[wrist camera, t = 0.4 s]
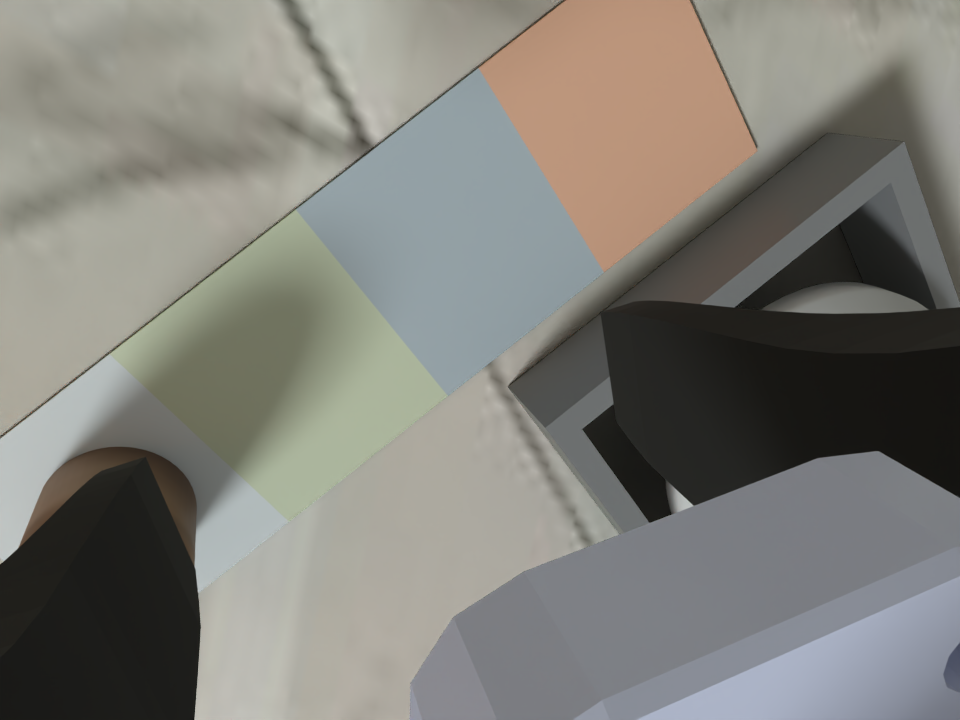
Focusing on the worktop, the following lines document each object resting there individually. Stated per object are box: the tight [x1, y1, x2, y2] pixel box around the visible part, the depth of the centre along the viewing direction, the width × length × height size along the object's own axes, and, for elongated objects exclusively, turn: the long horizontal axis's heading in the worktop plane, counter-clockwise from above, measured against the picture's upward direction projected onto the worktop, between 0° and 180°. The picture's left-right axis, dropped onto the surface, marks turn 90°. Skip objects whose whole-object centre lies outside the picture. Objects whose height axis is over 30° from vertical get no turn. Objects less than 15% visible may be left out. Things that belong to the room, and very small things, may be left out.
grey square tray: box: [508, 133, 960, 534], centre depth 25 cm, size 13×13×3 cm
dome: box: [666, 282, 928, 514], centre depth 24 cm, size 10×10×4 cm
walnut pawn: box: [18, 447, 197, 567], centre depth 18 cm, size 4×4×8 cm
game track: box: [0, 0, 757, 593], centre depth 21 cm, size 7×24×1 cm, turn 124°
